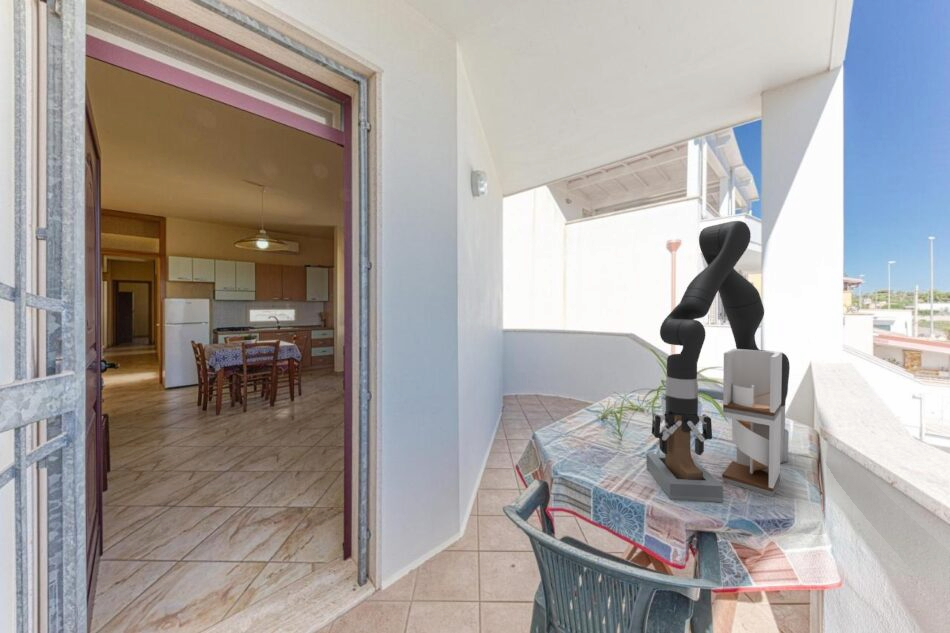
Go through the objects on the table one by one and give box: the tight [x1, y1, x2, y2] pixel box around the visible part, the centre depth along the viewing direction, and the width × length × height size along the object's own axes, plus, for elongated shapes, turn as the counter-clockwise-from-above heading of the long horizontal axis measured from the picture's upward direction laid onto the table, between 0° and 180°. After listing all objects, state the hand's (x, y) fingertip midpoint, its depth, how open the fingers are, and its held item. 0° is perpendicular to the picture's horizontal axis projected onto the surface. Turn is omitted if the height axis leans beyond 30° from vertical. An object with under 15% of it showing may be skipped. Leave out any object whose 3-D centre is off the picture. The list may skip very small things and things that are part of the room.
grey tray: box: [646, 453, 724, 503], centre depth 97 cm, size 12×18×4 cm
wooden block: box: [664, 410, 703, 480], centre depth 95 cm, size 9×4×18 cm, turn 7°
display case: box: [721, 348, 783, 498], centre depth 96 cm, size 11×11×35 cm
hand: (681, 453), depth 96 cm, fingers open, 8 cm apart
